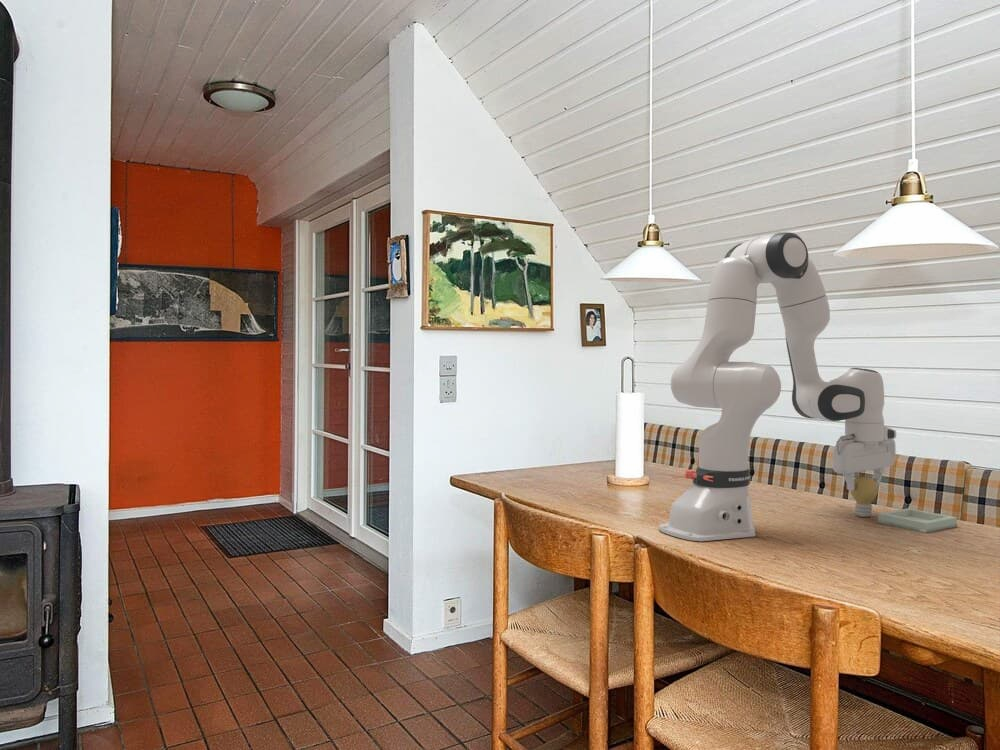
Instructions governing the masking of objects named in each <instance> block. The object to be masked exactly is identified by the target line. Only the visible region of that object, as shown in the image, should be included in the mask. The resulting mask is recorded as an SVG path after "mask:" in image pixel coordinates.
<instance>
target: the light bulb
mask: <svg viewBox="0 0 1000 750" xmlns="http://www.w3.org/2000/svg"><path fill="white" fill-rule="evenodd" d="M871 478H872V477H869V476H857V477H854V478H853V479H854V482H855V483H857V489H856V490H853V491H851V490H849V492H850V494H851V496H852V497H853V499H854V500H855V502H856V503H855V507H854V508H855V515H856V516H857V517H860V518H869V517H871V516H872V514H873V513H872V512H873V508H872V507H873V505H872V502H873V501H874V500H875V499H876V497H877V495H878V493H879V486H877V484H876V482H875V481H874V480H873V479H871Z"/></svg>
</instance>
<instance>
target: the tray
mask: <svg viewBox="0 0 1000 750" xmlns="http://www.w3.org/2000/svg"><path fill="white" fill-rule="evenodd" d="M877 523H878V524H883V525H888V526H893V527H897V528H900V529H901V528H902V529H906V530H911V531H917V532H919V533H925V534H927V533H932V532H937V531H938V532H939V531H941V530H942V531H943V530H947V529H948V530H949V529H952V528H957V527H958V517H957V516H956V517H955V516H951V515H946V514H942V513H936V512H931V511H925V510H920V509H914V508H909V507H907V508H902V509H894V510H891V511H883V512H879V513H878V512H877Z"/></svg>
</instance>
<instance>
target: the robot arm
mask: <svg viewBox="0 0 1000 750" xmlns="http://www.w3.org/2000/svg"><path fill="white" fill-rule="evenodd" d="M711 276H712V277H711V280H710V285H709V289H708V295H707V304H706V312H705V320H704V325H703V326H704V328H703V330H702V335H701V338H700V340H699V342H698V344H697V345H696V347H695V349H694V351H693V352H692V353H691V355H690V356H689V357H688V358H686V360H684V361H683V362H682V363H681V364H679V365H678V366H677V367H675V369H674V370H673V373H672V375H671V378H670V389H671V393H672V395H673V397H674V398H675V400H676V401H677V402H679V403H681V404H684V405H688V406H692V407H695V408H705V409H707V408H709V409H721V415H720V418H719V419H718V421H717V422H715V423H714V424H711V425H709V426H707V427H706V428H704V429H703V430H702V431H701V433H700V435H699V438H698V466H697V468H696V470H695V471H694V470H691V469H686V470H685V472H684V477H685V479H691V480H692V484H691V485H690V487H689V488H687V489H686V490H685V491H684V492H683V493H682V494H681V495H680V496H679V497H678V498H677V499H675V500H674V502H672V504H671V506H670V511H669V519H668V522H666V523H662V524H659V525H658V530H659V531H660V532H662V533H664V534H667V535H668V536H672V537H675V538H679V539H683V540H688V541H695V542H708V541H720V540H729V539H739V538H740V539H741V538H752V537H756V528H755V525H754V520H753V512H752V511H753V510H752V503H751V496H750V492H749V485H750V483H751V473H750V472H751V469H750V468H749V449H750V439H751V433H752V431H753V428H754V426H755V424H756V422H757V421H758V419H759V418H760V417H761V416H762V415H763V414H764V413H765V412H766V411H767V410H768V409H770V408H772V406H773V405H775V404H776V403H777V401H778V399H779V397H780V395H781V391H782V382H781V378H780V376H779V374H778V372H777V371H776V369H775V368H774V367H772V366H771V365H768V364H764V363H759V362H753V361H729V360H730V358H731V356H732V355H733V353H734V352H735V351H736V350H737V349H738V348H740V347H743V346H744V345H747V344H748V342H750V341H751V340H752V338H753V336H754V333H755V323H756V313H757V312H756V311H757V301H758V299H757V298H758V287H759V285H760V284H771V285H772V286H773V288H774V289H775V293H776V298H777V304H778V307H779V311H780V315H781V318H782V323H783V326H784V327H783V328H784V333H785V343H786V350H787V355H788V360H789V365H790V370H791V375H792V393H791V402H792V406H793V409H794V410H795V411H796V413H798V415H800V416H802V417H803V418H806V419H814V420H815V419H816V420H817V419H818V420H821V421H828V422H840V421H844V435H841V436H840V437H839V438H838V439H837V441H836V442H835V443H836V444H835V446H834V450H833V456H832V470H833V472H834V473H836V474H840V475H841V474H842V475H843V478H844V480H845V482H846V490H848V491H850V490H851V491H853V490H856V489H857V483H855V482H854V479H855V478H856V477H855V476H856V475H855V474H856V473H861V472H866V471H873V476H872V477H870V478H871V479H873V480H874V481H875V482H876V484H877V486H878V487H880V486H881V484H882V483H881V480H882V477H883V475H884V474H885V473H884V472H885V468H890V467H893V466H894V464H895V461H896V448H897V447H896V441H895V439H896V438H897V430H896V429H893V428H890V427H889V426H885V418H884V415H883V411H884V406H885V387H884V379H883V377H882V375H881V373H880V372H878V371H876V370H874V369H868V368H860V367H851V368H849V369H848V370H847V371H846V372H844V373H843V374H842V375H840V376H838V377H837V378H834V379H832V380H829V381H825V380H823V378H822V377H821V375H820V373H819V369H818V365H817V363H818V362H817V357H816V353H815V341H816V339H817V337H818V336H819V335H820V334H821V333H822V332H823V331H824V330H825V329H826V328H827V326H828V325H829V322H830V320H831V311H830V304H829V300H828V296H827V293H826V289H825V287H824V286H825V285H824V284H823V281H822V279H821V276H820V274H819V271H818V269H817V268H816V266H815V264H814V262H813V260H811V259H810V258H809V250H808V248H807V245H806V244H805V242H804V240H803V239H802V238H801V237H800V236H799V235H798V234H796V233H794V232H790V231H789V232H786V231H785V232H777V233H775V234H770V235H765V236H759V237H755V238H752V239H750V240H747V241H745V242H742V243H738V244H737V245H734V246H733V247H731V248H730V249H729V250H728V251H727V252H726V254H725V255H724V258H722V259H720V260H719V261H718V262H717V264H716V265H715V266H714V270H713V272H712V275H711Z"/></svg>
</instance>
